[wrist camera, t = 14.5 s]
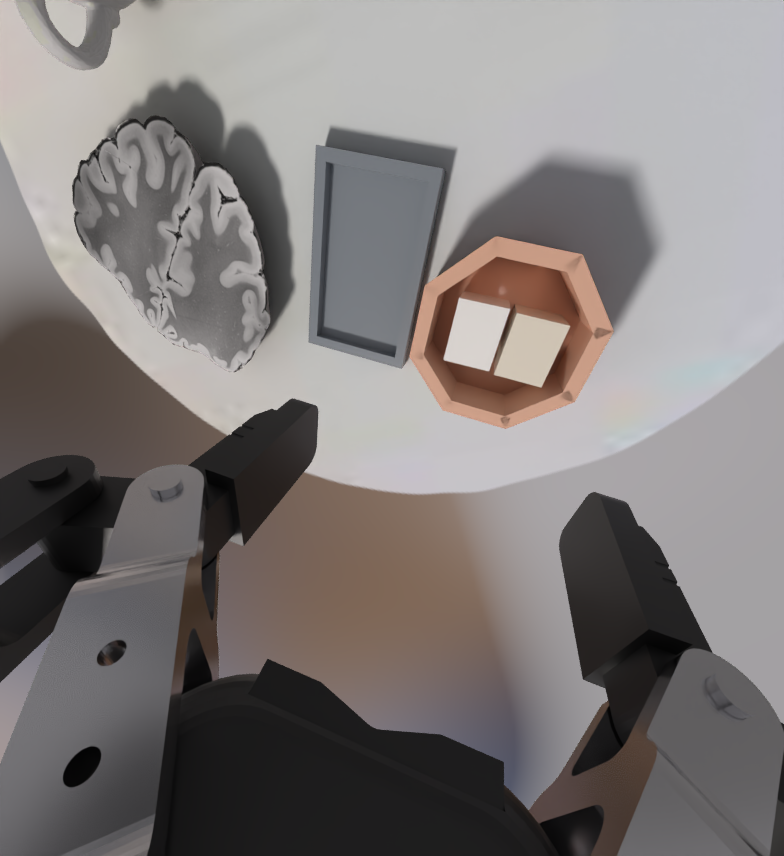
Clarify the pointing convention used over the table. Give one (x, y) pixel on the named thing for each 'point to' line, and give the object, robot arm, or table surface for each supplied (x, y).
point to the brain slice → (175, 240)
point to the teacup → (101, 19)
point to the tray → (369, 251)
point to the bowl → (520, 284)
